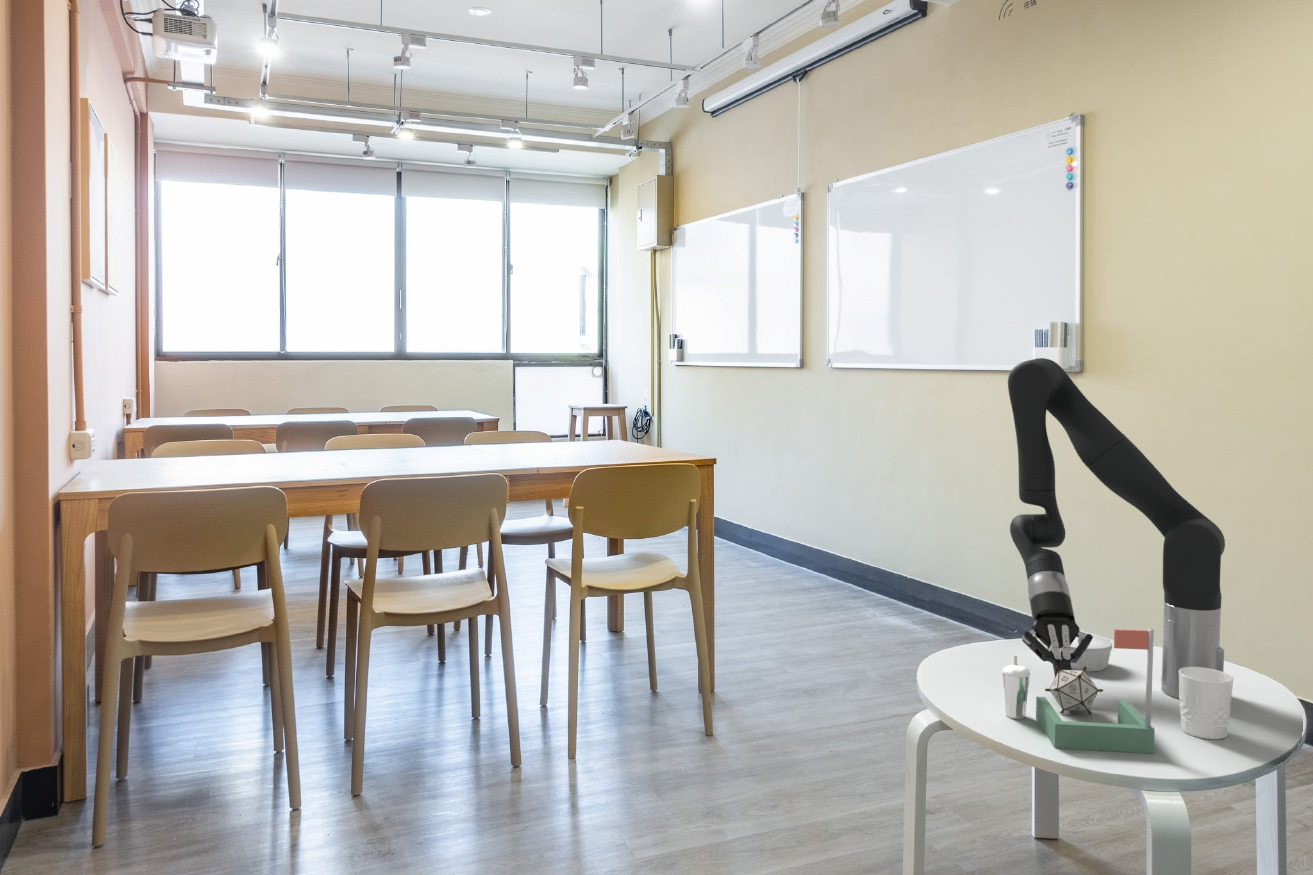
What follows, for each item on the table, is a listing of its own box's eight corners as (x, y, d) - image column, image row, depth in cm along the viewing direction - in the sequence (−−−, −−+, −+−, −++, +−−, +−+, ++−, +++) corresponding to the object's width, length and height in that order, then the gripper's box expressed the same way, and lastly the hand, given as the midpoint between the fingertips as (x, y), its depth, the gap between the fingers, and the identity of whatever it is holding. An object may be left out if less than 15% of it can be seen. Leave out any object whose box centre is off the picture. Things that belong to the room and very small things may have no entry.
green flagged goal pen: (1126, 723, 156) (1130, 610, 155) (1153, 753, 144) (1157, 631, 142) (1035, 718, 159) (1038, 607, 157) (1054, 747, 146) (1057, 627, 145)
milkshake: (1028, 711, 162) (1029, 657, 161) (1030, 722, 157) (1031, 666, 156) (1001, 708, 164) (1002, 654, 163) (1002, 719, 159) (1003, 663, 158)
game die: (1076, 728, 163) (1100, 680, 165) (1093, 729, 155) (1119, 679, 157) (1030, 700, 165) (1055, 653, 167) (1045, 700, 157) (1071, 650, 159)
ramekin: (1042, 664, 188) (1043, 640, 187) (1065, 653, 195) (1066, 629, 195) (1098, 678, 179) (1099, 652, 179) (1119, 665, 187) (1120, 640, 187)
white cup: (1231, 745, 147) (1233, 685, 146) (1175, 735, 151) (1177, 677, 150) (1230, 728, 153) (1233, 671, 153) (1177, 719, 158) (1179, 664, 157)
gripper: (1018, 588, 176) (1030, 670, 165) (1089, 590, 174) (1108, 674, 163) (1011, 607, 182) (1023, 688, 171) (1081, 610, 179) (1098, 691, 168)
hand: (1064, 681), depth 167 cm, fingers closed
